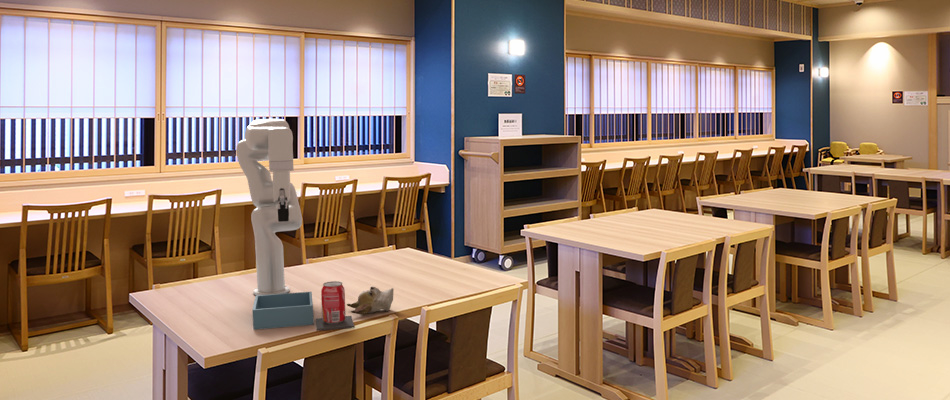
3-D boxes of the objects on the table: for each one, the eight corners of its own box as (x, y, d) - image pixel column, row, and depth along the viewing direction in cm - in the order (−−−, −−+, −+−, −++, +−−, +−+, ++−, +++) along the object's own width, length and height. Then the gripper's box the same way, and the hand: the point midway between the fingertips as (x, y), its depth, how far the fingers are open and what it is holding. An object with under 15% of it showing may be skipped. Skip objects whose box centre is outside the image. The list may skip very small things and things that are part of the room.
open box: (256, 313, 223) (255, 295, 222) (312, 309, 227) (311, 291, 226) (253, 329, 206) (252, 310, 205) (313, 324, 210) (312, 305, 209)
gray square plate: (315, 320, 214) (315, 318, 214) (351, 317, 217) (351, 315, 217) (316, 330, 204) (316, 328, 204) (354, 327, 206) (354, 325, 206)
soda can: (337, 317, 215) (336, 279, 214) (350, 321, 210) (349, 283, 209) (317, 322, 210) (316, 283, 209) (330, 326, 206) (329, 287, 204)
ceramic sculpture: (396, 287, 219) (349, 294, 215) (399, 313, 221) (352, 321, 216) (389, 280, 229) (344, 287, 225) (391, 305, 231) (347, 312, 226)
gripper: (270, 164, 228) (272, 216, 230) (268, 168, 211) (270, 223, 213) (293, 164, 230) (295, 215, 232) (293, 167, 213) (295, 222, 215)
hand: (283, 219), depth 222 cm, fingers open, 9 cm apart
